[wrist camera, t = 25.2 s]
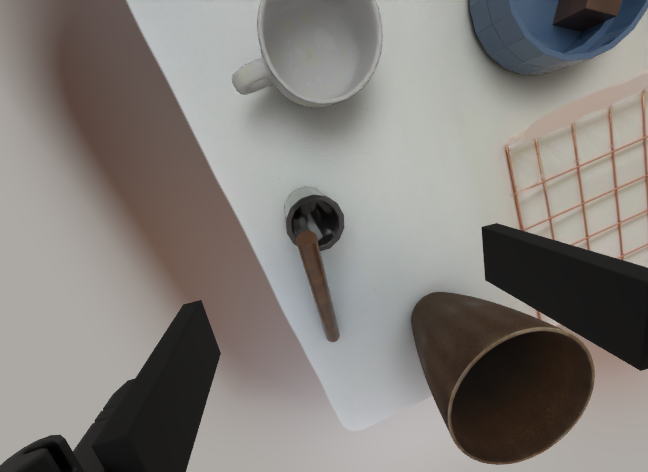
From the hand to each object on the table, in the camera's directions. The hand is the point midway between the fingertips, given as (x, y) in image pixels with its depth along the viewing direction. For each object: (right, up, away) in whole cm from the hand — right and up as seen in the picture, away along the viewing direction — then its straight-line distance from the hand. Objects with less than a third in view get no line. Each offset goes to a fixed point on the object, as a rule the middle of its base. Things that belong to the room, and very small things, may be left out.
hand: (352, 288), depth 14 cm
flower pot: (+15, -9, +30) cm, 34 cm away
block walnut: (+27, +29, +21) cm, 45 cm away
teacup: (-4, +21, +19) cm, 29 cm away
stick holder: (-3, +6, +23) cm, 24 cm away
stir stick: (-3, +2, +12) cm, 13 cm away
